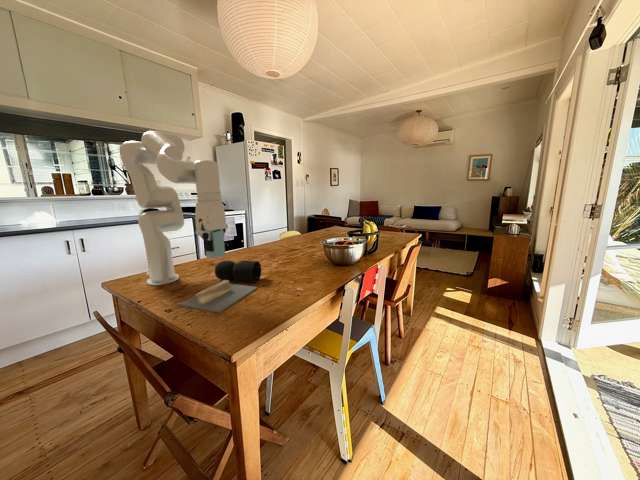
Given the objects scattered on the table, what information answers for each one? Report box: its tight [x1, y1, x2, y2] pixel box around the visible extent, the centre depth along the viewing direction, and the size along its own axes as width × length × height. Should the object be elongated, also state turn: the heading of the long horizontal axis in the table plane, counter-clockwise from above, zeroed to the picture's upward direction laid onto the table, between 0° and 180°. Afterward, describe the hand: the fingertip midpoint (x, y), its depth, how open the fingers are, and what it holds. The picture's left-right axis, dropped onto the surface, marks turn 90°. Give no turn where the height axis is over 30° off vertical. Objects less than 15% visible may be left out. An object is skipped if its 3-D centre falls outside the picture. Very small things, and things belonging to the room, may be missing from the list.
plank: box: [195, 280, 231, 305], centre depth 95 cm, size 2×14×4 cm, turn 160°
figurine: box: [214, 260, 262, 283], centre depth 113 cm, size 9×9×20 cm
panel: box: [178, 283, 259, 314], centre depth 97 cm, size 18×22×1 cm
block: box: [205, 230, 226, 259], centre depth 90 cm, size 4×4×9 cm
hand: (215, 249), depth 90 cm, fingers closed on block, 4 cm apart
